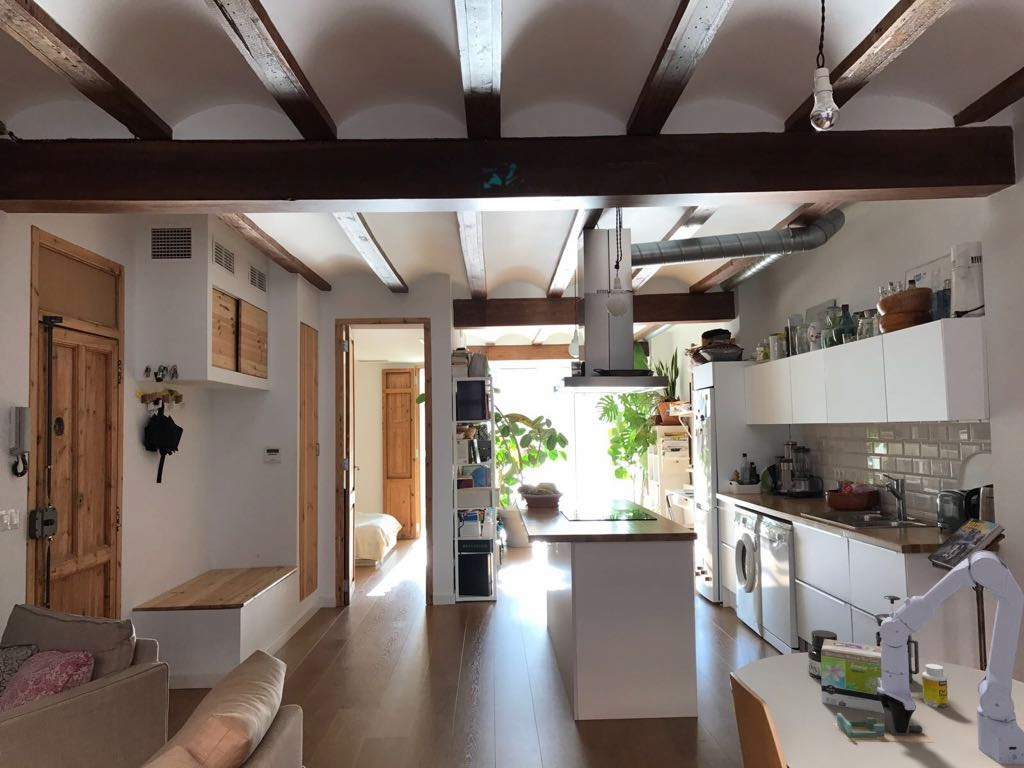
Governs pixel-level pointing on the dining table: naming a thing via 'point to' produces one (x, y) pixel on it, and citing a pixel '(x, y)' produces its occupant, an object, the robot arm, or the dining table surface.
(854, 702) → the tea box
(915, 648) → the french press
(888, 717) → the block
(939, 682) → the supplement bottle
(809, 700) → the dining table surface
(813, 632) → the black pill bottle
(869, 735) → the board
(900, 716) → the robot arm
